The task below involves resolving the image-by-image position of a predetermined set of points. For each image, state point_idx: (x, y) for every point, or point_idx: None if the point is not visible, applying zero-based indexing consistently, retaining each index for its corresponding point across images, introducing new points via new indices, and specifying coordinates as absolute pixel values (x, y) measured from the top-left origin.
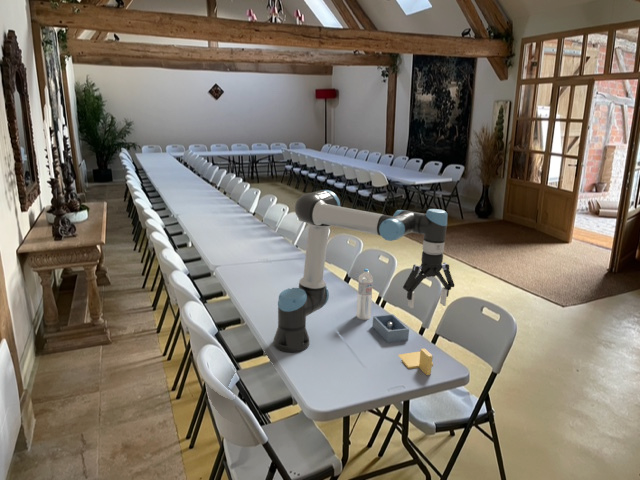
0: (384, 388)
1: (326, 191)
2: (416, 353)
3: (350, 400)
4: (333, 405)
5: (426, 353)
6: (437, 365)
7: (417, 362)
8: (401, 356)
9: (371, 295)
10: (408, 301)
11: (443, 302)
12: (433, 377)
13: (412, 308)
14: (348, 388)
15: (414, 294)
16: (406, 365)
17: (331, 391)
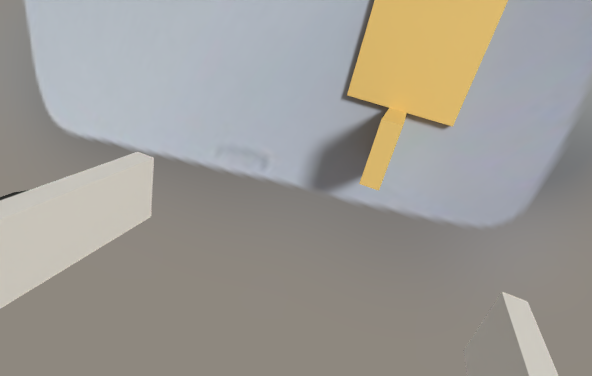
0: (213, 140)
1: None
2: (465, 19)
3: (120, 133)
4: (83, 127)
5: (371, 162)
6: (467, 135)
7: (402, 86)
8: (382, 10)
9: None
10: (97, 168)
11: (473, 371)
12: None
13: (142, 216)
14: (132, 87)
15: (4, 303)
16: (353, 76)
17: (93, 75)
